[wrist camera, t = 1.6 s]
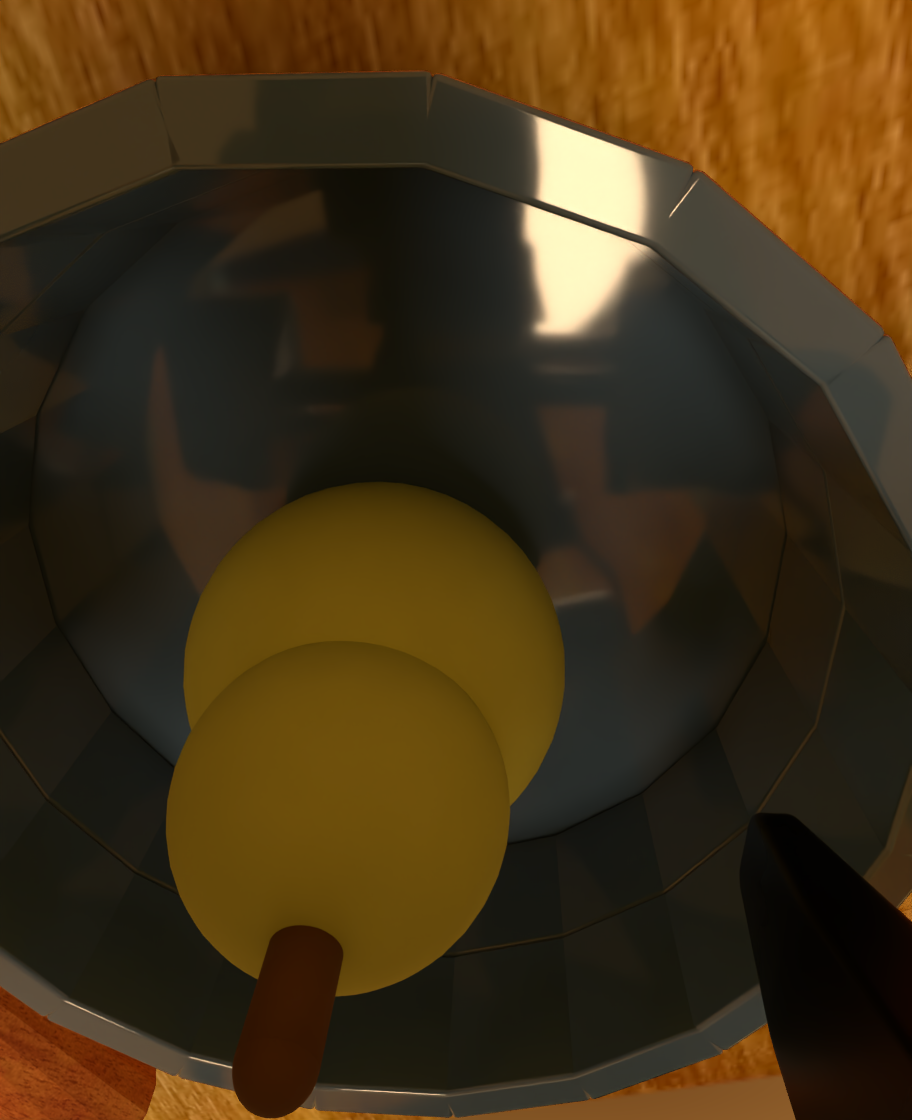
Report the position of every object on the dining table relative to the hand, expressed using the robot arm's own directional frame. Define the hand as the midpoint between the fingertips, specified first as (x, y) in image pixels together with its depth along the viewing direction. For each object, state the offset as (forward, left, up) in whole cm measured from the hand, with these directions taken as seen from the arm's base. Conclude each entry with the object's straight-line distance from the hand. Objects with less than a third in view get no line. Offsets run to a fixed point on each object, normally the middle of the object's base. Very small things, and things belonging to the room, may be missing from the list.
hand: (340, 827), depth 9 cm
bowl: (0, 0, -6) cm, 6 cm away
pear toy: (0, 0, -6) cm, 6 cm away
